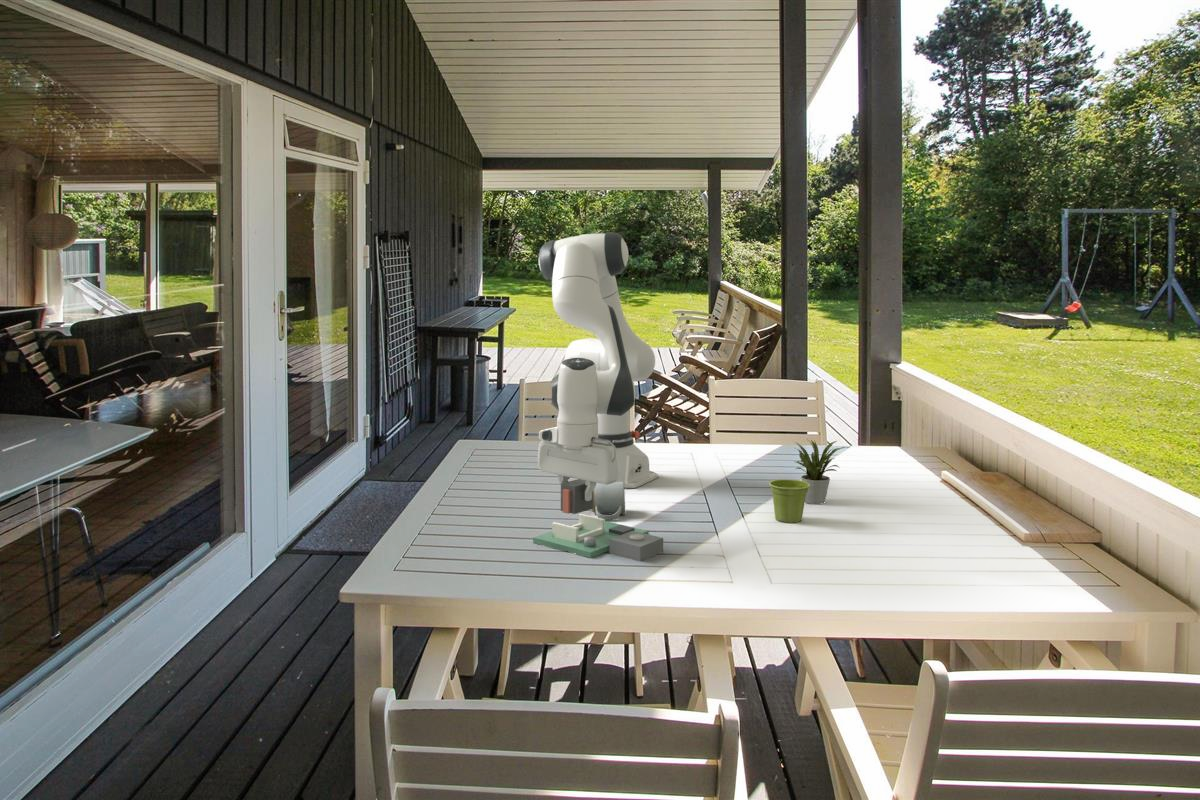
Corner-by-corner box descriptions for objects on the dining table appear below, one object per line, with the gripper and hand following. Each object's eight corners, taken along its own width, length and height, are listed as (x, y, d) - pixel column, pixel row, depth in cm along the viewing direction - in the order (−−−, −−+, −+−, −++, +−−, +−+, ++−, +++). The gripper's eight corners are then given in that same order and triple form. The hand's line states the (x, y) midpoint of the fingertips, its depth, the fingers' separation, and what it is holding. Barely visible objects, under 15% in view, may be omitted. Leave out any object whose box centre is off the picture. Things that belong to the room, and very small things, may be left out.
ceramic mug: (591, 509, 234) (591, 478, 232) (625, 509, 234) (625, 478, 232) (590, 521, 223) (591, 489, 222) (626, 521, 223) (626, 489, 222)
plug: (579, 505, 211) (579, 478, 210) (592, 508, 208) (593, 481, 207) (558, 511, 206) (558, 484, 205) (572, 514, 203) (572, 487, 202)
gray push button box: (632, 544, 205) (632, 528, 205) (663, 551, 200) (663, 535, 200) (609, 553, 199) (609, 536, 199) (640, 561, 194) (640, 543, 194)
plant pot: (763, 514, 229) (764, 479, 228) (802, 513, 230) (803, 478, 229) (773, 525, 220) (775, 488, 219) (814, 524, 221) (815, 488, 219)
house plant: (851, 497, 246) (854, 434, 243) (846, 510, 233) (849, 444, 230) (794, 492, 250) (797, 431, 248) (787, 505, 237) (789, 440, 235)
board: (592, 523, 221) (592, 505, 221) (648, 536, 211) (648, 517, 211) (533, 542, 206) (533, 523, 205) (590, 557, 196) (590, 538, 195)
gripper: (624, 439, 201) (624, 503, 203) (552, 427, 214) (552, 488, 216) (605, 443, 196) (605, 509, 198) (533, 431, 209) (533, 493, 211)
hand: (577, 498), depth 207 cm, fingers closed on plug, 4 cm apart
